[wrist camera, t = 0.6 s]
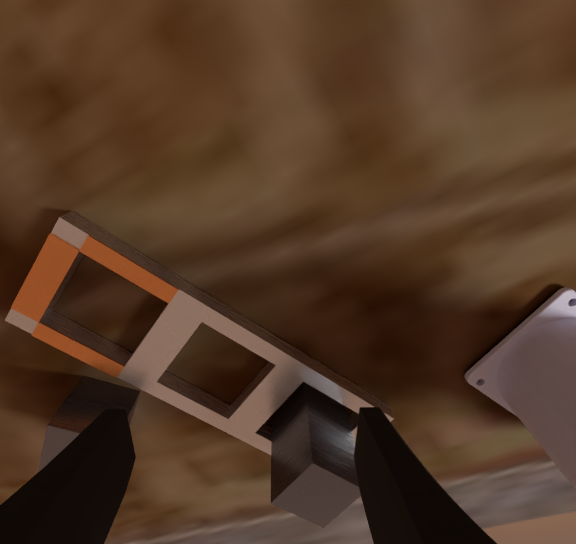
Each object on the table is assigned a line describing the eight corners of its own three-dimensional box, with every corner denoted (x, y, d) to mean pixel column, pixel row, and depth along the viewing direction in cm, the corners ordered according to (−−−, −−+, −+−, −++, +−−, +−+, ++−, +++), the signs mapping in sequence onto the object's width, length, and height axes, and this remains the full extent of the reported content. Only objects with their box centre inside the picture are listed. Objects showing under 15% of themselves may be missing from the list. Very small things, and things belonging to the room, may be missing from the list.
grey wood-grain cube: (140, 390, 24) (115, 442, 20) (128, 429, 25) (102, 484, 21) (83, 375, 23) (47, 425, 19) (74, 415, 24) (38, 470, 21)
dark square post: (345, 406, 25) (366, 490, 19) (312, 438, 26) (323, 527, 20) (303, 381, 24) (312, 463, 18) (271, 415, 25) (270, 503, 19)
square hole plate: (388, 404, 25) (394, 419, 23) (322, 466, 27) (324, 483, 25) (71, 210, 19) (58, 217, 18) (18, 309, 21) (3, 321, 20)
